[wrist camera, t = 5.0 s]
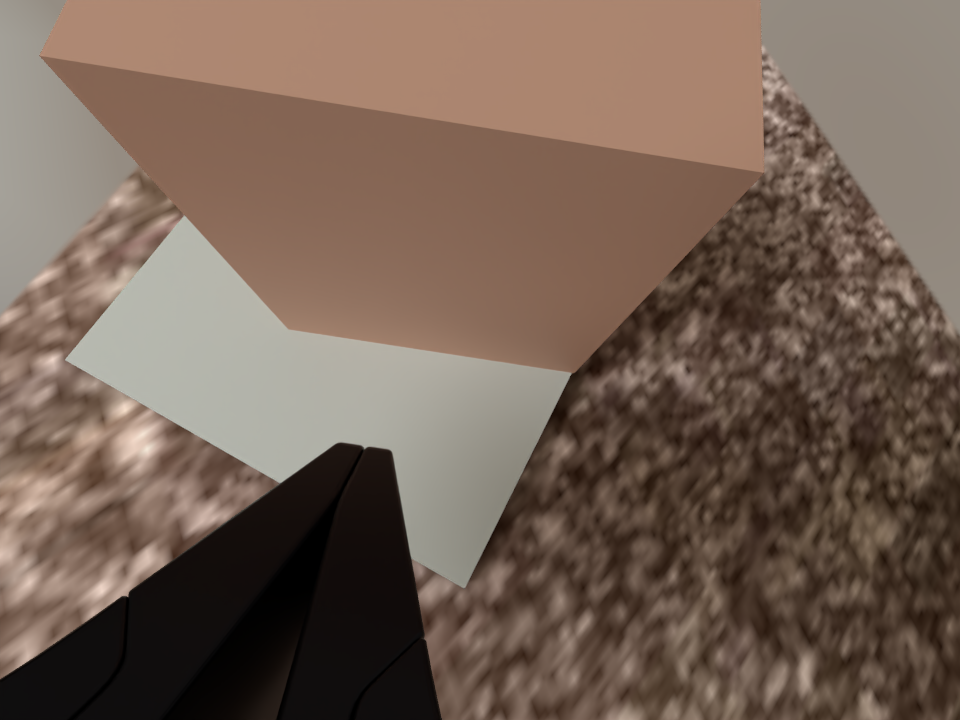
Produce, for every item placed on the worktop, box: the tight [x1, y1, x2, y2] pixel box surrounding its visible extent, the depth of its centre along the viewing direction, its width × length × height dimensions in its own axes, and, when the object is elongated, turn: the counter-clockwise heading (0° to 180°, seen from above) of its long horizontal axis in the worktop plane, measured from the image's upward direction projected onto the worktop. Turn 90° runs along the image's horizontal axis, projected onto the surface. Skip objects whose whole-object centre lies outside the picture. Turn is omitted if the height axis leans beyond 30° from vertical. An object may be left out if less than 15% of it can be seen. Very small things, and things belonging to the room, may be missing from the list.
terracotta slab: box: [39, 0, 764, 373], centre depth 13 cm, size 4×10×11 cm, turn 82°
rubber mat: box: [65, 215, 571, 589], centre depth 19 cm, size 15×22×1 cm
